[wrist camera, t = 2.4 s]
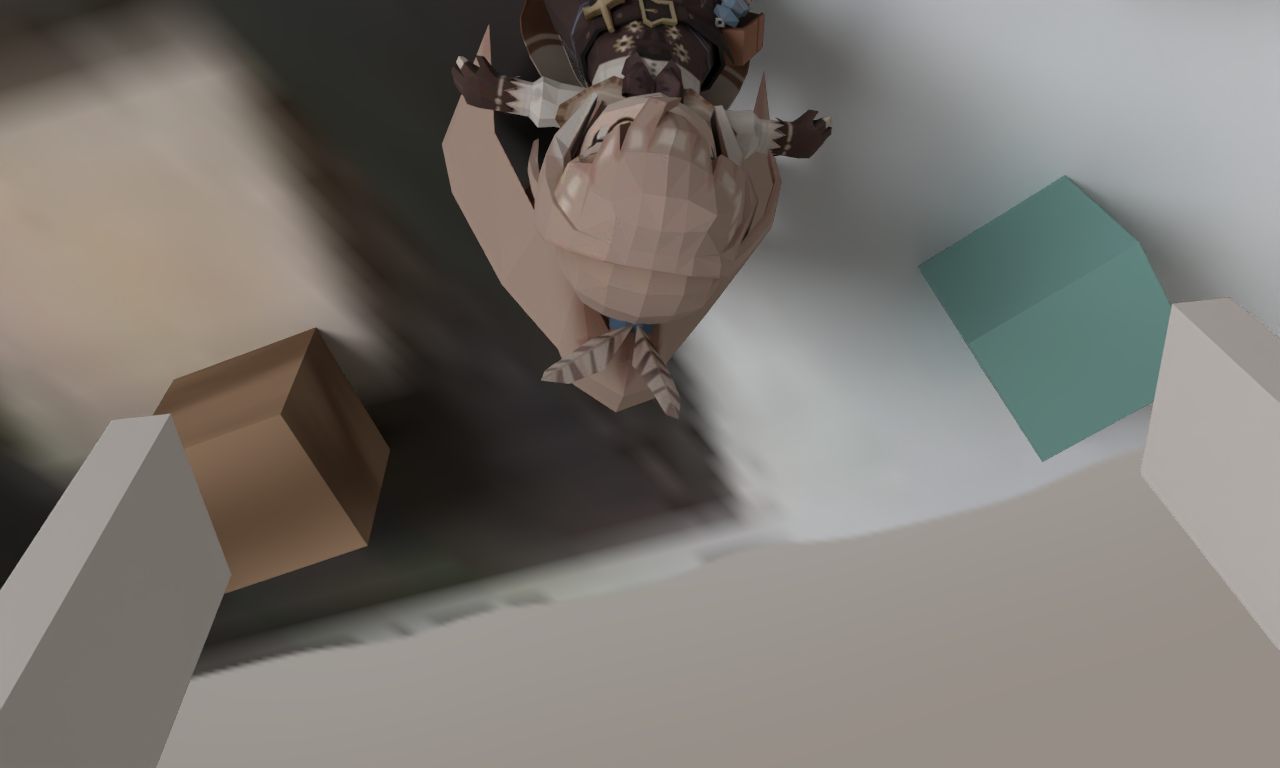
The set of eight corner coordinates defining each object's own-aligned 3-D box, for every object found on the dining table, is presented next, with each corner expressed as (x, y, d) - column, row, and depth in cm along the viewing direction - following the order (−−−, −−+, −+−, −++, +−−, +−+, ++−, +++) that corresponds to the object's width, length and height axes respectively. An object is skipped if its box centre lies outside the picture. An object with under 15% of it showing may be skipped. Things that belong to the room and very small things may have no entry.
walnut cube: (174, 378, 34) (119, 472, 30) (316, 326, 33) (280, 414, 29) (257, 494, 37) (217, 595, 32) (390, 448, 36) (367, 545, 32)
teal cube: (917, 265, 34) (967, 343, 29) (1063, 174, 32) (1139, 242, 28) (985, 374, 36) (1042, 461, 32) (1125, 293, 35) (1204, 373, 30)
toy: (839, -119, 27) (959, 302, 17) (749, 156, 33) (799, 579, 23) (477, -190, 26) (378, 221, 16) (454, 109, 32) (375, 537, 22)
